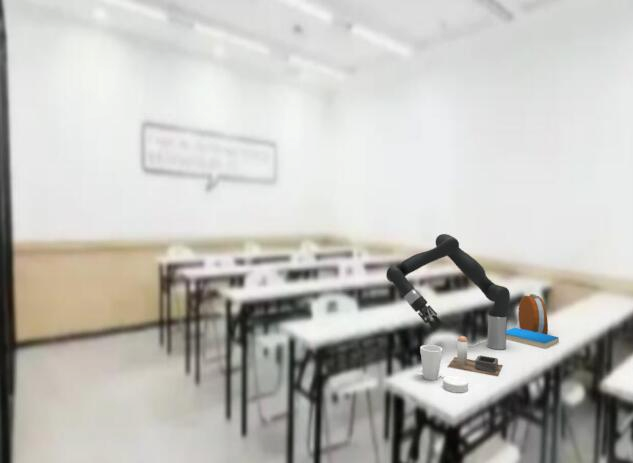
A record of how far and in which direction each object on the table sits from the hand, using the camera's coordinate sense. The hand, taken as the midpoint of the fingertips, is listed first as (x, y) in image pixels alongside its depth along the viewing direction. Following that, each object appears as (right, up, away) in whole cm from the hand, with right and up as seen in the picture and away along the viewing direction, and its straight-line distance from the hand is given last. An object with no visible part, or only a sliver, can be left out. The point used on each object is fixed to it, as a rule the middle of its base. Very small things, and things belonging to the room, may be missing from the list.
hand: (438, 326), depth 216 cm
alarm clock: (+72, -15, +55) cm, 92 cm away
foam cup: (-8, -19, -18) cm, 28 cm away
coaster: (-1, -20, -30) cm, 35 cm away
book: (+61, -17, +37) cm, 73 cm away
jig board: (+15, -18, -8) cm, 25 cm away
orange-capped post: (+10, -17, -5) cm, 20 cm away
